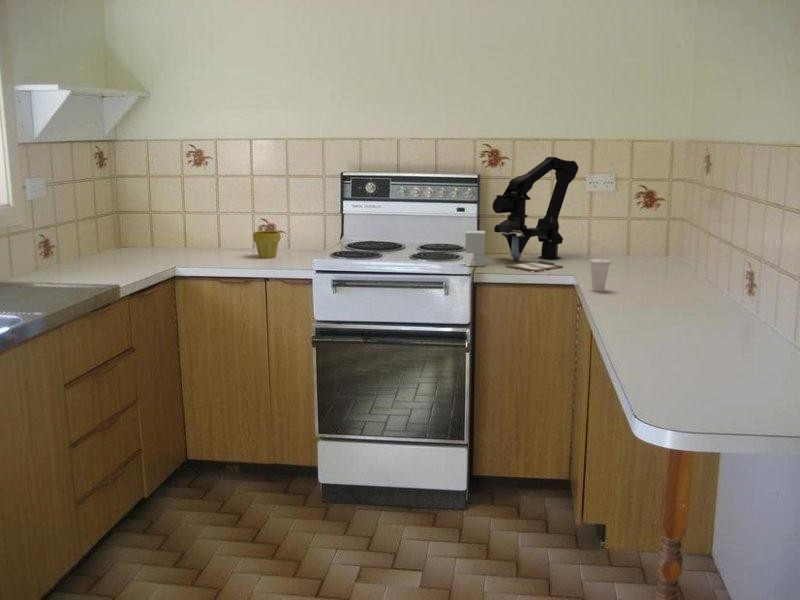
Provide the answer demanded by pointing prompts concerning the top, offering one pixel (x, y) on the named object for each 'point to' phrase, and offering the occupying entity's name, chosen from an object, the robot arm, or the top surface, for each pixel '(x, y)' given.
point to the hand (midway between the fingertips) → (516, 252)
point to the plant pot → (266, 243)
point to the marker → (515, 248)
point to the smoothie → (599, 273)
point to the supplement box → (476, 246)
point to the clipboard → (535, 266)
